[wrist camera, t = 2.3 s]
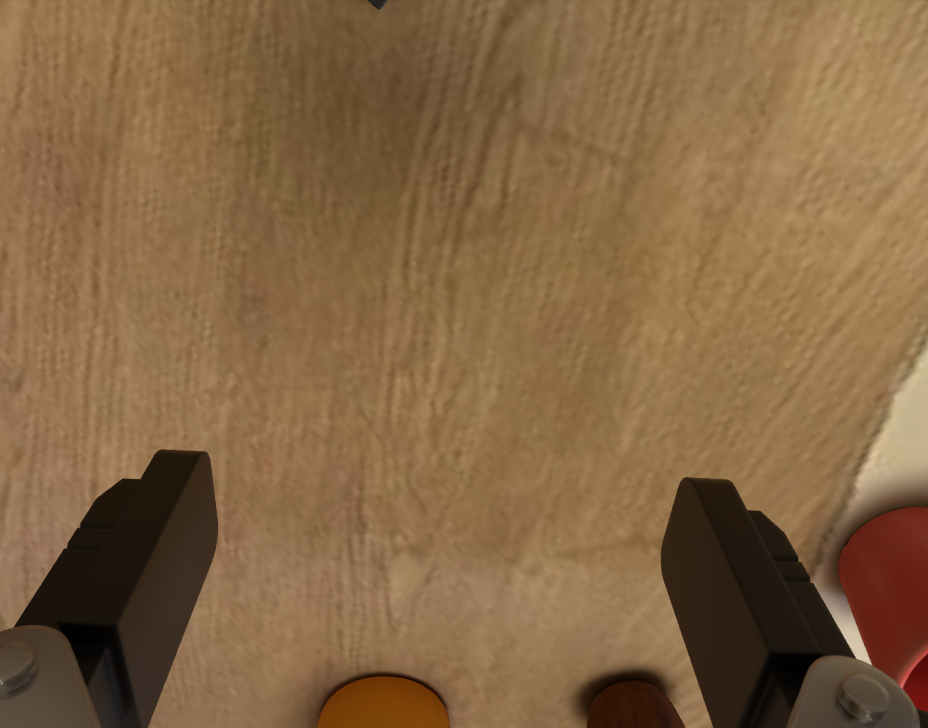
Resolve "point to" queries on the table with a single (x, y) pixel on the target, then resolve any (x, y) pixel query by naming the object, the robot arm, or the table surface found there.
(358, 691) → the beer bottle
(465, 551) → the table surface
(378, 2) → the placemat
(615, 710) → the wooden figurine
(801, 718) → the robot arm
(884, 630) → the flower pot
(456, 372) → the table surface
